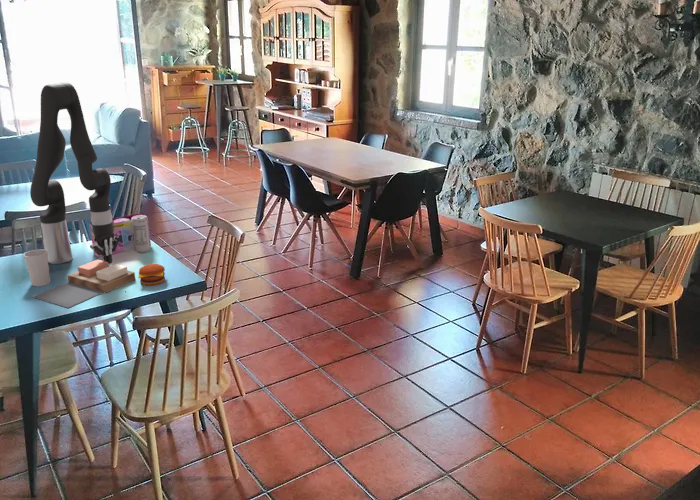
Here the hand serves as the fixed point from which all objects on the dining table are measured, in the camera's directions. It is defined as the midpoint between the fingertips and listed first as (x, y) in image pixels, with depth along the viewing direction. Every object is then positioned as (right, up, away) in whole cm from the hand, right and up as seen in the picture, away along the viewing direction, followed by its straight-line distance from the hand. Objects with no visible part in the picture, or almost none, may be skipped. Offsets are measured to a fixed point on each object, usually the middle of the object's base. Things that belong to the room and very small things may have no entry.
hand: (108, 263), depth 235 cm
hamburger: (+20, -7, -8) cm, 22 cm away
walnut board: (+1, -6, -8) cm, 10 cm away
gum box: (-4, +5, +25) cm, 26 cm away
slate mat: (-7, -11, -19) cm, 23 cm away
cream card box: (+6, -4, -10) cm, 12 cm away
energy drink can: (+6, +5, +23) cm, 24 cm away
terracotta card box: (-3, -3, -6) cm, 7 cm away
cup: (-22, -7, -9) cm, 25 cm away
